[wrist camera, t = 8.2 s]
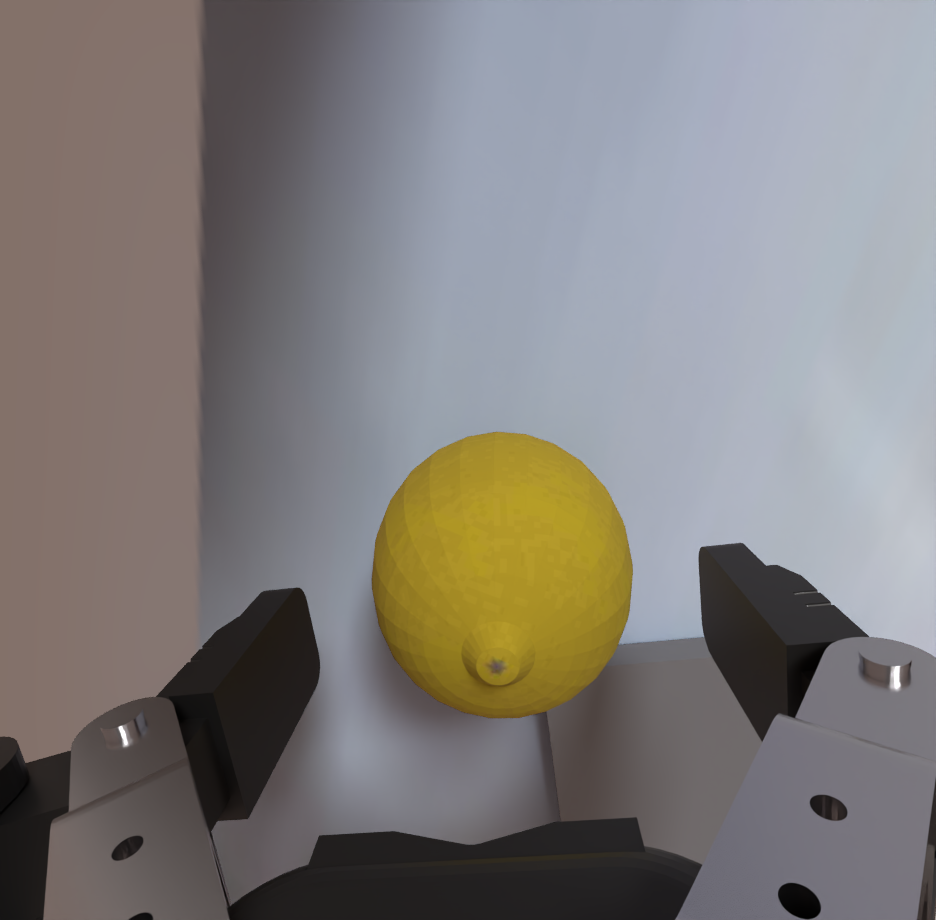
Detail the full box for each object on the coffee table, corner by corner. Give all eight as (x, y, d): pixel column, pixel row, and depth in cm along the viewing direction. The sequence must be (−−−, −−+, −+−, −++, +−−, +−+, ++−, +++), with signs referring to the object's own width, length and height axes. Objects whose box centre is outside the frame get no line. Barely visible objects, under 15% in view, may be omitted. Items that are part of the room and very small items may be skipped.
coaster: (539, 651, 18) (541, 671, 17) (848, 624, 17) (868, 643, 16) (568, 879, 20) (572, 908, 19) (842, 866, 19) (860, 895, 18)
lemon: (605, 406, 16) (697, 505, 8) (594, 591, 17) (661, 822, 10) (404, 403, 16) (310, 496, 9) (409, 584, 18) (333, 803, 10)
